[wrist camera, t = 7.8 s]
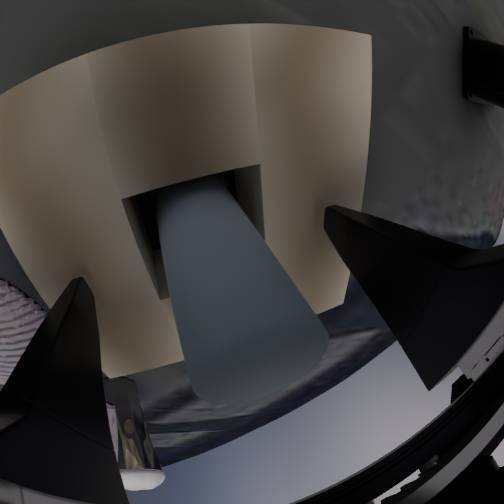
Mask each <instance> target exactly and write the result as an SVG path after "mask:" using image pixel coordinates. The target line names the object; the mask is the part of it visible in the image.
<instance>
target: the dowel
mask: <svg viewBox="0 0 504 504" xmlns="http://www.w3.org/2000/svg"><path fill="white" fill-rule="evenodd" d="M154 202H155V210H156V217H157V225H158V231H159V238H160V245H161V251H162V257H163V263H164V268H165V274H166V279H167V284H168V289H169V294H170V299H171V304H172V309H173V314H174V318H175V323H176V327H177V331H178V335H179V340H180V344H181V348H182V352H183V356H184V359H185V363H186V367H187V371H188V374H189V378H190V382H191V385H192V389H193V391H194V393H195V394H196V395H197V396H198V397H199V398H201V399H202V400H205V401H207V402H211V403H216V404H235V403H243V402H248V401H252V400H256V399H259V398H262V397H265V396H268V395H270V394H273V393H275V392H277V391H279V390H281V389H283V388H285V387H287V386H289V385H290V384H292V383H294V382H295V381H297V380H298V379H300V378H301V377H302V376H304V375H305V374H306V373H307V372H308V371H310V370H311V369H312V368H313V367H314V366H315V365H316V364H317V363H318V361H319V360H320V359H321V357H322V356H323V355H324V353H325V351H326V349H327V346H328V342H329V335H328V332H327V330H326V329H325V327H324V326H323V324H322V323H321V321H320V320H319V319H318V317H317V316H316V314H315V313H314V311H313V310H312V308H311V307H310V305H309V304H308V302H307V301H306V300H305V298H304V297H303V295H302V294H301V292H300V291H299V289H298V288H297V287H296V285H295V284H294V282H293V281H292V279H291V278H290V276H289V275H288V274H287V272H286V271H285V269H284V268H283V266H282V265H281V264H280V262H279V261H278V259H277V258H276V256H275V255H274V254H273V252H272V251H271V249H270V248H269V247H268V245H267V244H266V242H265V241H264V239H263V238H262V237H261V235H260V234H259V232H258V231H257V230H256V228H255V227H254V225H253V224H252V222H251V221H250V220H249V218H248V217H247V215H246V214H245V213H244V211H243V210H242V208H241V207H240V206H239V204H238V203H237V201H236V200H235V199H234V197H233V196H232V195H231V193H230V192H229V190H228V189H227V188H226V186H225V185H224V183H223V182H222V181H221V179H220V178H219V177H218V175H217V174H216V173H215V174H211V175H207V176H202V177H198V178H194V179H190V180H187V181H183V182H179V183H175V184H171V185H168V186H164V187H161V188H157V189H155V193H154Z"/></svg>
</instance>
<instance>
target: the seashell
mask: <svg viewBox="0 0 504 504" xmlns="http://www.w3.org/2000/svg"><path fill="white" fill-rule="evenodd" d="M46 315H47V313H46V312H45V311H42V310H41V306H40V305H38V304H34V300H33V299H32V298H26V297H25V295H24V293H23V292H19V289H18V288H15V287H14V286H8V282H7V281H2V280H0V384H5V383H6V381H7V379H8V378H9V376H10V374H11V373H12V371H13V370H14V368H15V366H16V364H17V363H18V361H19V359H20V357H21V356H22V354H23V352H24V351H25V349H26V347H27V345H28V344H29V342H30V340H31V339H32V337H33V336H34V334H35V332H36V331H37V329H38V328H39V326H40V324H41V323H42V321H43V320H44V318H45V317H46Z"/></svg>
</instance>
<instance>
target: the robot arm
mask: <svg viewBox="0 0 504 504" xmlns="http://www.w3.org/2000/svg"><path fill="white" fill-rule="evenodd" d="M464 97H465V99H467V100H470V101H474V102H477V103H481V104H484V105H487V106H491V107H494V105H497V106H499V107H502V108H504V45H501V44H498V43H494V42H491V41H489V40H488V39H487V38H485V37H484V36H483V35H481V34H480V33H479V32H477V31H476V30H474V29H473V28H472V27H468V26H466V27H465V83H464ZM323 226H324V230H325V232H326V234H327V236H328V237H329V239H330V241H331V242H332V244H333V246H334V247H335V249H336V251H337V252H338V254H339V256H340V257H341V259H342V261H343V262H344V263H345V265H346V266H347V268H348V269H349V270H350V272H351V273H352V275H353V276H354V277H355V279H356V280H357V282H358V283H359V284H360V286H361V287H362V289H363V290H364V291H365V293H366V294H367V296H368V297H369V299H370V300H371V301H372V303H373V304H374V306H375V307H376V309H377V310H378V312H379V313H380V315H381V316H382V318H383V319H384V321H385V322H386V324H387V325H388V327H389V328H390V330H391V331H392V333H393V334H394V336H395V337H396V339H397V340H398V342H399V344H400V345H401V346H402V349H403V350H404V352H405V353H406V355H407V357H408V358H409V360H410V361H411V363H412V365H413V366H414V368H415V369H416V371H417V373H418V374H419V376H420V378H421V379H422V381H423V383H424V385H425V386H426V388H427V389H428V391H430V390H431V389H433V388H434V387H435V386H436V385H438V384H439V383H440V382H441V381H442V380H444V379H445V378H446V377H447V376H448V375H449V374H450V373H452V372H453V371H454V370H455V369H456V368H457V367H459V368H460V369H461V371H462V372H463V373H464V374H463V375H462V376H460V377H459V379H458V380H456V381H455V382H454V383H453V384H452V392H451V404H450V405H449V406H448V407H447V408H446V409H445V410H444V411H443V412H442V413H440V414H439V415H438V416H437V417H436V418H435V419H433V420H432V421H431V422H430V423H428V424H427V425H426V426H425V427H424V428H422V429H421V430H420V431H418V432H417V433H416V434H415V435H413V436H412V437H411V438H409V439H408V440H407V441H405V442H404V443H402V444H401V445H399V446H398V447H397V448H395V449H394V450H392V451H391V452H389V453H388V454H386V455H385V456H383V457H381V458H380V459H378V460H377V461H375V462H374V463H372V464H370V465H369V466H367V467H365V468H363V469H362V470H360V471H358V472H357V473H355V474H353V475H351V476H349V477H347V478H346V479H344V480H342V481H340V482H338V483H336V484H334V485H332V486H330V487H328V488H325V489H323V490H321V491H319V492H317V493H314V494H312V495H310V496H308V497H305V498H303V499H300V500H298V501H296V502H293V503H290V504H374V503H375V502H374V500H373V499H375V498H377V497H378V496H380V495H382V494H383V493H385V492H386V491H388V490H389V489H391V488H392V487H394V486H395V485H397V484H398V483H400V482H401V481H403V480H404V479H405V478H407V477H408V476H410V475H411V474H412V473H414V472H415V471H416V470H418V469H419V470H420V472H421V473H420V474H419V475H418V476H419V478H418V479H417V480H414V481H412V482H410V483H408V484H405V485H404V486H402V487H401V488H400V489H401V491H400V492H398V493H397V494H394V495H391V496H389V497H386V498H385V499H383V500H381V504H504V466H503V467H499V466H498V465H497V463H496V461H495V460H494V458H493V456H490V455H491V453H492V452H493V451H494V450H495V449H496V448H497V446H498V445H499V444H500V443H501V441H502V440H503V439H504V244H502V245H498V246H495V247H491V248H488V249H482V250H481V249H472V248H469V247H466V246H463V245H460V244H457V243H453V242H450V241H447V240H444V239H441V238H438V237H435V236H432V235H429V234H426V233H423V232H420V231H417V230H414V229H411V228H409V227H406V226H403V225H400V224H397V223H394V222H391V221H388V220H385V219H382V218H378V217H375V216H372V215H369V214H366V213H363V212H359V211H356V210H353V209H349V208H346V207H343V206H339V205H331V206H327V207H326V208H325V211H324V223H323ZM0 504H129V501H128V498H127V495H126V491H125V488H124V485H123V481H122V478H121V474H120V470H119V466H118V462H117V458H116V454H115V451H114V446H113V441H112V436H111V431H110V425H109V420H108V414H107V407H106V400H105V393H104V385H103V375H102V365H101V351H100V336H99V329H98V322H97V314H96V306H95V298H94V295H93V292H92V291H91V289H90V287H89V286H88V284H87V282H86V280H85V279H84V278H83V277H77V278H74V279H72V280H71V281H70V283H69V284H68V285H67V287H66V288H65V290H64V291H63V292H62V294H61V295H60V296H59V298H58V299H57V301H56V302H55V304H54V305H53V306H52V308H51V309H50V311H49V312H48V314H47V315H46V317H45V318H44V320H43V321H42V323H41V324H40V326H39V328H38V329H37V331H36V332H35V334H34V336H33V337H32V339H31V340H30V342H29V344H28V345H27V347H26V349H25V351H24V352H23V354H22V356H21V357H20V359H19V361H18V363H17V364H16V366H15V368H14V370H13V371H12V373H11V374H10V376H9V378H8V379H7V381H6V383H5V384H4V386H3V388H2V389H1V391H0Z"/></svg>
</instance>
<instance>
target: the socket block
mask: <svg viewBox="0 0 504 504" xmlns="http://www.w3.org/2000/svg"><path fill="white" fill-rule="evenodd" d="M371 95H372V46H371V35H367V34H362V33H357V32H352V31H346V30H339V29H333V28H325V27H316V26H306V25H292V24H229V25H216V26H205V27H197V28H189V29H182V30H176V31H170V32H164V33H159V34H154V35H150V36H145V37H141V38H137V39H133V40H129V41H125V42H121V43H118V44H114V45H111V46H108V47H105V48H102V49H98V50H95V51H93V52H90V53H87V54H84V55H81V56H79V57H76V58H74V59H71V60H69V61H66V62H64V63H61V64H59V65H57V66H55V67H52V68H50V69H48V70H46V71H44V72H42V73H40V74H38V75H36V76H34V77H32V78H30V79H28V80H26V81H24V82H22V83H20V84H18V85H17V86H15V87H13V88H11V89H10V90H8V91H6V92H5V93H3V94H1V95H0V228H1V230H2V232H3V234H4V236H5V238H6V240H7V241H8V243H9V245H10V247H11V249H12V251H13V252H14V254H15V256H16V258H17V259H18V261H19V263H20V264H21V266H22V268H23V269H24V271H25V273H26V274H27V276H28V277H29V279H30V281H31V282H32V284H33V285H34V287H35V288H36V290H37V291H38V293H39V294H40V296H41V297H42V298H43V300H44V301H45V303H46V304H47V305H48V307H49V308H50V309H51V308H52V306H53V305H54V304H55V302H56V301H57V299H58V298H59V296H60V295H61V294H62V292H63V291H64V290H65V288H66V287H67V285H68V284H69V283H70V281H71V280H72V279H74V278H77V277H83V278H84V279H85V280H86V282H87V284H88V286H89V287H90V289H91V291H92V292H93V295H94V298H95V306H96V314H97V322H98V329H99V336H100V351H101V365H102V371H103V372H104V373H105V374H106V375H107V376H108V377H109V378H110V379H111V378H115V377H120V376H124V375H129V374H133V373H137V372H141V371H145V370H149V369H153V368H157V367H161V366H165V365H168V364H172V363H176V362H179V361H183V360H185V359H184V356H183V352H182V348H181V344H180V340H179V335H178V331H177V327H176V323H175V318H174V314H173V309H172V304H171V299H170V294H169V289H168V284H167V279H166V274H165V268H164V263H163V257H162V251H161V249H158V250H155V251H153V249H152V247H151V244H150V241H149V238H148V235H147V232H146V229H145V226H144V223H143V220H142V217H141V214H140V211H139V208H138V204H137V201H136V198H135V195H137V194H140V193H143V192H147V191H150V190H154V189H157V188H161V187H164V186H168V185H171V184H175V183H179V182H183V181H187V180H190V179H194V178H198V177H202V176H207V175H211V174H215V173H219V172H224V171H228V170H233V169H234V178H235V187H236V195H237V203H238V204H239V206H240V207H241V208H242V210H243V211H244V213H245V214H246V215H247V217H248V218H249V220H250V221H251V222H252V224H253V225H254V227H255V228H256V230H257V231H258V232H259V234H260V235H261V237H262V238H263V239H264V241H265V242H266V244H267V245H268V247H269V248H270V249H271V251H272V252H273V254H274V255H275V256H276V258H277V259H278V261H279V262H280V264H281V265H282V266H283V268H284V269H285V271H286V272H287V274H288V275H289V276H290V278H291V279H292V281H293V282H294V284H295V285H296V287H297V288H298V289H299V291H300V292H301V294H302V295H303V297H304V298H305V300H306V301H307V302H308V304H309V305H310V307H311V308H312V310H313V311H314V313H315V314H319V313H321V312H324V311H326V310H328V309H331V308H333V307H335V306H338V305H340V304H342V303H343V301H344V297H345V293H346V288H347V284H348V279H349V275H350V270H349V269H348V268H347V266H346V265H345V263H344V262H343V261H342V259H341V257H340V256H339V254H338V252H337V251H336V249H335V247H334V246H333V244H332V242H331V241H330V239H329V237H328V236H327V234H326V232H325V230H324V226H323V223H324V211H325V208H326V207H327V206H331V205H339V206H343V207H346V208H349V209H353V210H356V211H359V212H361V207H362V200H363V193H364V185H365V177H366V168H367V158H368V147H369V134H370V119H371Z"/></svg>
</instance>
